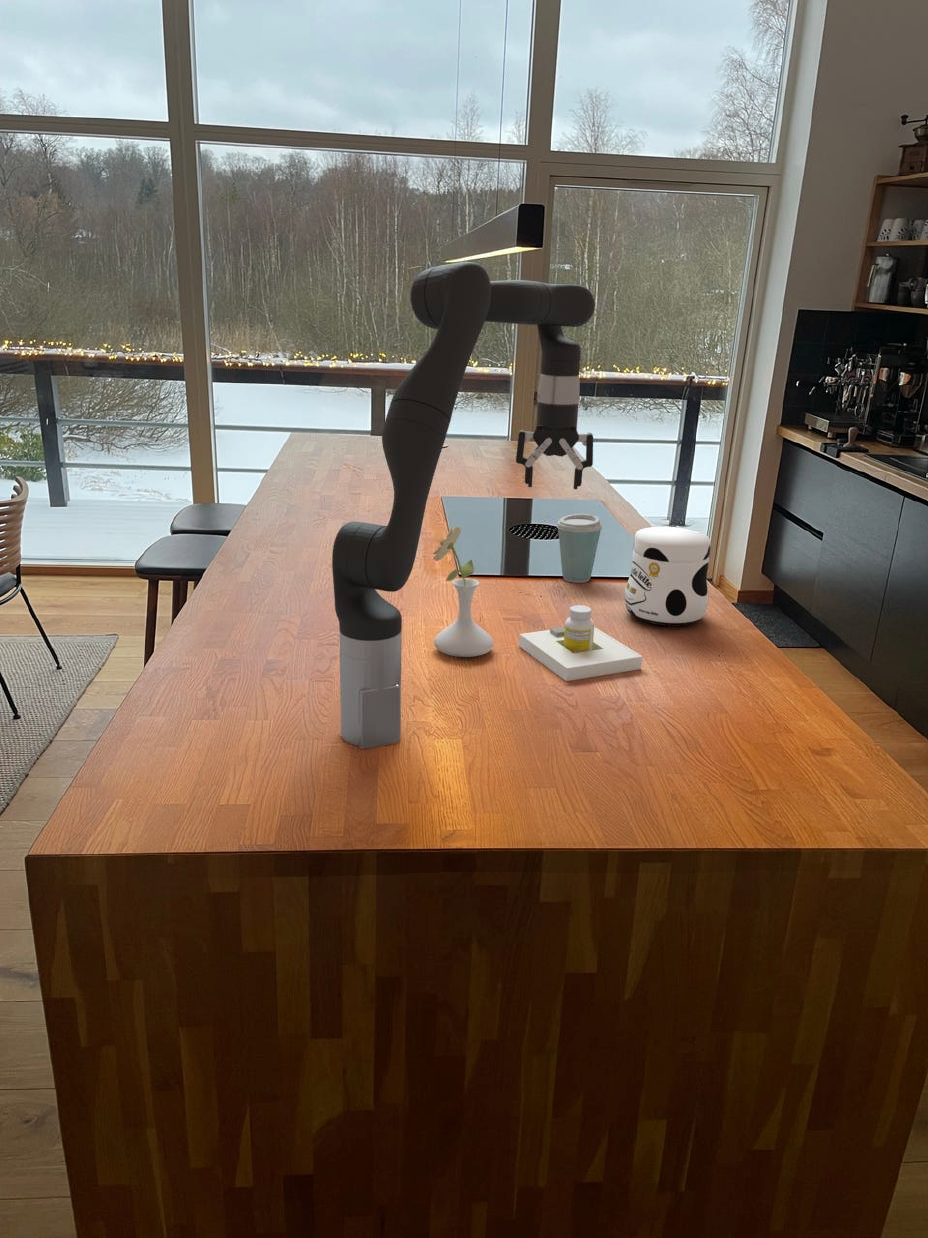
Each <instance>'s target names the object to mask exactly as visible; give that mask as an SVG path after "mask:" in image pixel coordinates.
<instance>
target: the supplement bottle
mask: <svg viewBox="0 0 928 1238" xmlns="http://www.w3.org/2000/svg"><path fill="white" fill-rule="evenodd" d="M591 617H592V608H591V607H590V606H587V605H581V604H580V605H579V604H578V605H577V604H575V605H572V606H570V607H569V617H568V618H567V619H566V620H565V624H564V627H565V637H564V647H565V648H566V649H568V650H569V651H571V652H572V653H579V652H586V651H593V636H594V627H595V622H594V620H593V619H592V618H591Z"/></svg>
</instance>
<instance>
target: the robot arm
mask: <svg viewBox="0 0 928 1238" xmlns="http://www.w3.org/2000/svg"><path fill="white" fill-rule="evenodd" d="M409 298H410V305H411V309H412V311H413V313H414V315H415V317H416V319H417V320H418V321H419V322H420V323H421V324H422V325H424V326H426V327H428V328H431V329H435V330H437V331H436V334H435V336H434V338H433V341H432V342H431V344H430V346H429V347H428V348H427V350H426V351H425V352H424V354H422V356H421V357H420V359H418V361H417V362H416V363H415V364H414V366H412V368H411V370H410V371H409V372H408V373H407V374H406V375H405V377H403V379H402V380H401V382H400V383H399V385H398V386H397V387H396V389H395V391H394V393H393V396H392V398H391V401H390V404H389V407H388V411H387V414H386V416H385V421H384V424H383V427H382V431H381V432H382V433H381V444H382V451H383V453H384V457H385V461H386V464H387V467H388V471H389V474H390V478H391V481H392V487H393V503H392V508H391V513H390V516H389V521H388V522H387V525H382V524H374V523H370V522H362V521H350V522H347V523H346V522H345V524H343V526H341V528H339V530H338V531H337V534H336V536H335V539H334V541H333V547H332V552H331V553H332V554H331V555H332V556H331V558H332V559H331V568H332V569H331V571H332V581H333V584H332V585H333V595H334V596H333V597H334V611H335V614H336V617H337V620H338V622H339V623H338V624H339V683H340V684H339V686H340V687H339V690H340V691H339V695H340V699H339V703H340V707H339V708H340V735H341V736H340V737H342V739H343V740H344V741H345V742H347V743H349V744H352V745H353V746H354V745H355V746H357V747H359V748H360V749H361V750H364V749H370V748H376V747H383V746H387V745H394V744H399V743H400V742H401V737H400V736H401V732H402V731H401V730H402V729H401V728H402V725H401V724H402V719H401V718H402V716H401V715H402V710H401V709H402V706H401V705H402V643H403V642H402V639H403V638H402V637H403V635H402V633H403V632H402V630H403V629H402V628H403V627H402V624H403V622H402V621H403V620H402V619H403V618H402V617H403V616H402V614H401V612H400V610H399V608H397V607H396V606H394V605H393V604H392V603H390V602H388V600H386V599H385V598H383V597H382V596H381V594H379V592H378V591H383V592H388V593H389V592H392V593H393V592H394V593H395V592H399V591H400V590H401V589H402V588H403V587H404V586H405V585H406V584H407V582H408V580H409V578H410V575H411V573H412V571H413V568H414V565H415V561H416V560H415V559H416V558H417V557H416V556H417V551H418V547H419V541H420V536H421V533H422V532H421V531H422V526H423V522H424V517H425V512H426V506H427V502H428V499H429V498H428V497H429V494H430V490H431V488H432V487H431V486H432V483H433V480H434V475H435V473H436V469H437V466H438V463H439V460H440V456H441V453H442V450H443V447H444V444H445V441H446V437H447V434H448V430H449V428H450V423H451V420H452V417H453V416H452V415H453V412H454V408H455V404H456V400H457V397H458V394H459V392H460V389H461V386H462V382H463V379H464V376H465V373H466V370H467V366H468V364H469V361H470V359H471V356H472V354H473V351H474V349H475V347H476V344H477V341H478V339H479V337H480V334H481V331H482V330H483V327H484V324H485V323H487V322H489V323H501V324H512V325H527V326H528V325H532V326H537V327H536V328H537V331H538V339H539V343H540V348H541V356H540V357H541V360H540V361H541V362H540V376H539V381H538V388H537V395H536V397H537V401H536V402H537V403H536V405H537V406H536V423H535V424H536V425H535V429H534V431H528V430H527V431H526V430H525V429H520V430H519V432H518V440H517V447H516V456H515V457H516V458H515V462H516V463H517V464H518V465H519V464H521V465H522V466H524V467H525V469H524V472H525V473H524V483H525V485H527V487H528V488H533V475H534V474H533V471H534V465H533V464H534V463H536V461H537V460H538V459H539V458H540V457H541V456H542V455H543V454H544V455H545V456H546V457H548V456H549V457H552V456H557V457H562V458H563V457H564V456H566V455H567V456H568V458H569V459H570V461H571V462H572V463H573V465H574V466H575V467H574V474H573V490H578V487H581V486H582V482H583V471H584V469H586V468H590V467H593V465H594V434H593V433H592V432H587V433H579V432H578V416H579V405H580V404H579V403H580V402H579V401H580V392H581V391H580V388H581V387H580V371H581V370H580V368H581V353H582V351H581V349H582V348H581V346H580V344H579V343H577V342H576V341H574V340H571V339H568V338H567V337H566V336H565V334H564V331H563V327H570V328H578V327H581V326H584V325H586V324H587V323H588V322H589V321H590V319H591V318H592V317H593V316H594V315H593V314H594V312H595V308H596V307H595V306H596V303H595V298H594V296H593V293H592V292H591V291H590V289H588V288H587V287H586V286H584V285H581V284H562V283H560V284H559V283H545V282H541V281H535V280H527V279H507V280H502V279H501V280H492V281H490V277H489V274H488V272H487V271H486V269H485V268H484V266H482V265H481V264H479V263H477V262H473V261H462V262H461V261H459V262H455V263H448V264H442V265H438V266H437V265H436V266H433V267H430V268H427V269H425V270H423V271H421V272H420V273H419V274H418V275H416V277H415V279H414V280H413V282H412V285H411V287H410V297H409ZM531 439H533V441H534V442H535V444H536V445H537V446H536V448H535V449H534V450H533V451H532V452H531V454H530V455H529V456H527V457H528V458H527V457H525V456H524V451H525V444H529V442H530V440H531ZM579 441H581V445H582V446H584V447H585V459H583V460H581V458H580V457H579V456H578V454H577V452H576V451H575V449H574V447H575V445H576V444H577V443H578V442H579ZM377 590H378V591H377Z"/></svg>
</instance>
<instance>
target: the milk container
mask: <svg viewBox="0 0 928 1238" xmlns="http://www.w3.org/2000/svg"><path fill="white" fill-rule="evenodd" d="M710 553H711V540H710V537H709V536H708V535H706V534H704V533H703V532H701V531H700V532H699V531H696V530H694V529H687V528H682V527H673V526H653V527H646V528H641V529H638V531H636V532H635V536H634V541H633V551H632V560H631V562H632V563H631V564H632V565H631V572H630V575H629V578H628V581H627V583H626V586H625V591H624V605H625V608H626V610H627V612H628V613H629V614H630V615H632V616H633V617H634V618H636V619H637V620H640V621H642V622H646V623H650V624H653V625H661V626H668V627H669V626H677V627H678V626H686V625H691V624H694V623H696V622H699V621H700V620H702V618H703V617H704V616H705V613H706V611H707V609H708V605H709V590H708V582H707V577H708V568H709V563H710Z"/></svg>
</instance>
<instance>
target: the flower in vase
mask: <svg viewBox="0 0 928 1238" xmlns="http://www.w3.org/2000/svg"><path fill="white" fill-rule="evenodd" d="M448 531H449V532H448V533H447V534H446V538H442V539H441V540H440V541H439V545H440V546H438V547H437V549H435V550H434V552H433V554H432V555H434V556H433V558H432V561H436V562H438V561H441V560H442V559H443V558H444V557H445V556H446V555H447V554H449V552H450V551H453V554H454V557H455V560H456V561H457V564H458V569H457V568H456V569H454V570H452V571H451V572H449V574H448V575H447V577H446V580H445V582H450V581H452V585H453V586H454V589H456V592H457V595H458V614H457V618H456V620H454V622H452V623H451V624H450V625H447V627H445V628H444V629H442V630H441V631H440V632H439V633H438V634H437V635H436V636H435V638H434V640H433V644H434V645H433V646H434V647H435V648H436V649H437V651H439V652H441V653H443V654H445V655H448V656H451V657H458V658H473V657H477V656H482V655H485V654H487V653H489V652H490V651H492V649H493V647H494V646H495V643H494V641H493V638H492V636H491V635H489V633H488V632H487V631H485V630H484V629H483V628H482V627H481V626H479V625H478V624H477V623H476V622H475V621H474V620H473V618H472V601H473V596H474V593H475V591H476V589H477V587H478V586H480V581H479V580H477V579H474V578H467V577H469V576H471V575H473V574H474V572H475V568H474V564H473V560H472V559H470V560H468V561H467V562H466V563H464V564H463V565H462V566H461V562H460V560H459V556H458V554H457V552H456V550H455V547H454V545H455V544H456V543H457V541H458V539H459V537H460V534H461V531H462V528H461V527H459V525H456V526H455V527H454V529H453V527H451V528H450V529H449V530H448ZM459 573H460V575H461V578H456V577H458V574H459ZM455 578H456V579H455Z"/></svg>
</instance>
